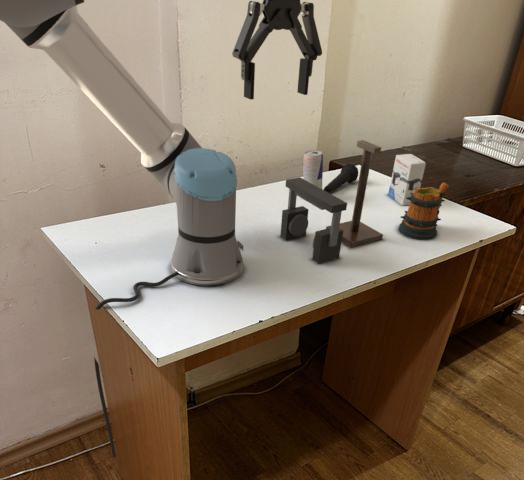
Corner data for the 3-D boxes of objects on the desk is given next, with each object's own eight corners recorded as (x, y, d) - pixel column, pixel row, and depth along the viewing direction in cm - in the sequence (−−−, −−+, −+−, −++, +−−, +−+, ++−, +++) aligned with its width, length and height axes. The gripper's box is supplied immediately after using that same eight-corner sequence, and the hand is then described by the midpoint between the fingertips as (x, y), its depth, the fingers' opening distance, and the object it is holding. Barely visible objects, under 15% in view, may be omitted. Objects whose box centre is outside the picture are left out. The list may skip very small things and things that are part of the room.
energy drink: (325, 194, 147) (326, 151, 139) (316, 200, 143) (317, 157, 136) (308, 191, 149) (308, 149, 142) (299, 197, 145) (299, 154, 138)
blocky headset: (320, 265, 114) (328, 206, 105) (278, 235, 125) (282, 180, 116) (341, 259, 116) (351, 202, 108) (298, 230, 127) (303, 176, 119)
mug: (420, 244, 125) (432, 198, 118) (388, 229, 131) (398, 184, 124) (452, 232, 132) (465, 188, 125) (420, 218, 138) (431, 175, 131)
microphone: (324, 208, 147) (357, 182, 159) (331, 192, 143) (364, 166, 154) (309, 198, 149) (343, 173, 160) (315, 182, 144) (350, 157, 156)
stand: (351, 247, 121) (367, 153, 108) (325, 231, 128) (337, 140, 114) (382, 239, 126) (401, 147, 112) (355, 224, 132) (371, 135, 119)
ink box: (387, 194, 151) (395, 154, 143) (401, 193, 152) (410, 153, 145) (401, 205, 144) (411, 163, 137) (416, 204, 145) (427, 162, 138)
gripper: (235, -32, 86) (233, 104, 99) (348, -26, 98) (333, 95, 111) (214, -34, 91) (215, 96, 104) (324, -28, 103) (312, 88, 116)
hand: (276, 95), depth 108 cm, fingers open, 13 cm apart
